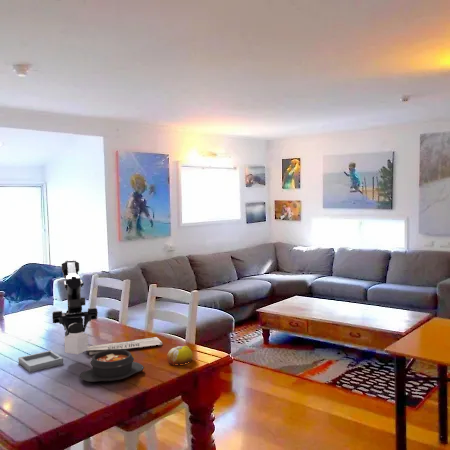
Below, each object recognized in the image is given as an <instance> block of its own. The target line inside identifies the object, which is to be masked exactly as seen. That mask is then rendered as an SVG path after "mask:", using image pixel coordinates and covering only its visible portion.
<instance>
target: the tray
mask: <svg viewBox="0 0 450 450" xmlns="http://www.w3.org/2000/svg"><path fill="white" fill-rule="evenodd" d="M17 361H18V364H19V365H20V366H21V367H23V368H24V369H25V370H27V372H29V373H33V372H36V371H40V370H44V369H48V368H52V367H56V366H60V365H64V357H62V356H61V355H59V354H58V353H56V352H54V351H52V350H51V349H49V350H46V351H42V352H37V353H32V354H29V355H25V356H20V357H18V360H17Z"/></svg>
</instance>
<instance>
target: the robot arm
mask: <svg viewBox="0 0 450 450" xmlns="http://www.w3.org/2000/svg"><path fill="white" fill-rule="evenodd" d="M79 272H80V263H79V262H78V261H77V260H76V259H69V260H65V262H63V263H61V273H62V274H63V278H64V279H65V280H64V281H63V285H64V289H65V290H66V291H67V293H66V297H67V310H66V312H63V310H55V311H52V323H53V324H59V325H62V326H63V329H64V337H65V336H67V335H70V334H69V325H70V324H73V323H82V324H83V331H84V333H86V332H85V331H86V328H87V325H88V324H89V322H91V321H93V320H97V319H98V308H97V307H90V308H87V311H83V306H86V297H81V292H82V288H83V286H84V282H83V280H82V279H81V276H80V275H79Z"/></svg>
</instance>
